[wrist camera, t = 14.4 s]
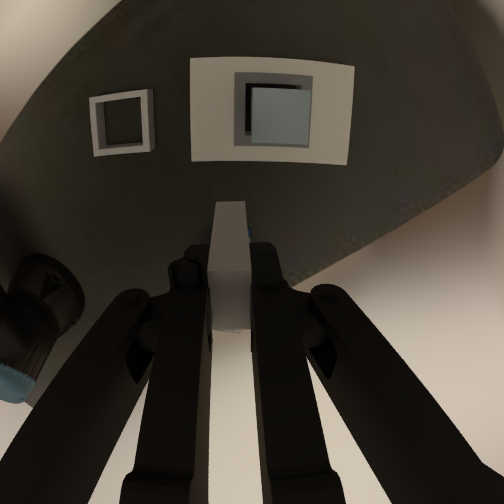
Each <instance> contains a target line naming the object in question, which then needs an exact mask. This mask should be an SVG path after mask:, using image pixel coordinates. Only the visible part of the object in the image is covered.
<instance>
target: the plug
mask: <svg viewBox="0 0 504 504" xmlns="http://www.w3.org/2000/svg"><path fill="white" fill-rule="evenodd" d="M310 99H311V91H308V90H296V89H279V88H252V89H251V117H250V125H251V142H252V143H281V144H303V145H308V133H309V117H310Z"/></svg>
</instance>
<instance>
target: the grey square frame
mask: <svg viewBox="0 0 504 504" xmlns="http://www.w3.org/2000/svg"><path fill="white" fill-rule="evenodd" d="M133 97H141V116H142V135H143V142H139V143H127V144H117V145H107V143H106V132H105V118H104V102H105V101H111V100H118V99H125V98H133ZM89 101H90V117H91V130H92V140H93V150H94V156H103V155H113V154H124V153H136V152H150V151H151V150H153V149H154V148H155V132H154V109H153V89H146V90H137V91H129V92H122V93H115V94H109V95H103V96H97V97H91V98H89Z"/></svg>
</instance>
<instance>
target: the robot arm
mask: <svg viewBox="0 0 504 504" xmlns="http://www.w3.org/2000/svg"><path fill="white" fill-rule="evenodd" d="M168 274H169V280H170V286H171V288H170V291H169V292H167V293H165V294H162V295H159V296H154V297H149V294H148V293H147V292H146V291H145V290H142V289H129V290H125V291H123V292H121V293H120V294H119V295H117V296H116V297H115V299H114V300H113V301H112V302H111V304H110V305H109V306H108V307H107V309H106V310H105V311H104V312H103V314H102V315H101V316H100V317H99V319H98V320H97V321H96V322H95V324H94V325H93V326H92V328H91V329H90V330H89V331H88V333H87V334H86V335H85V337H84V338H83V339H82V341H81V342H80V343H79V345H78V346H77V347H76V349H75V350H74V351H73V353H72V354H71V355H70V357H69V358H68V359H67V361H66V362H65V363H64V365H63V366H62V368H61V369H60V370H59V372H58V373H57V375H56V376H55V377H54V379H53V380H52V382H51V383H50V384H49V386H48V387H47V389H46V390H45V392H44V393H43V395H42V396H41V397H40V399H39V400H38V402H37V403H36V405H35V406H34V408H33V409H32V411H31V412H30V414H29V416H28V417H27V419H26V420H25V422H24V423H23V425H22V426H21V428H20V429H19V431H18V433H17V434H16V436H15V437H14V439H13V441H12V442H11V444H10V445H9V447H8V449H7V450H6V452H5V454H4V456H3V457H2V459H1V461H0V504H88V502H89V500H90V498H91V495H92V493H93V491H94V489H95V487H96V485H97V483H98V480H99V478H100V476H101V474H102V472H103V470H104V468H105V466H106V464H107V461H108V459H109V457H110V455H111V453H112V451H113V449H114V447H115V445H116V443H117V441H118V439H119V437H120V435H121V433H122V431H123V429H124V427H125V425H126V423H127V421H128V419H129V417H130V415H131V413H132V411H133V409H134V407H135V405H136V403H137V401H138V399H139V397H140V395H141V393H142V391H143V389H144V387H145V386H146V384H147V382H148V380H149V383H148V389H147V394H146V398H145V404H144V409H143V414H142V421H141V426H140V432H139V437H138V444H137V451H136V456H135V463H134V467H133V470H132V472H130V473H128V474H127V475H126V477H125V478H124V480H123V483H122V488H121V494H120V501H119V504H209V503H208V465H209V464H208V463H209V418H210V388H211V363H212V342H213V339H212V330H232V329H251V352H252V362H253V374H254V389H255V403H256V416H257V430H258V443H259V457H260V470H261V483H262V495H263V504H346V502H345V497H344V492H343V487H342V484H341V480H340V477H339V475H338V474H337V472H335V471H334V470H333V469H332V468H331V466H330V462H329V458H328V453H327V448H326V444H325V439H324V434H323V429H322V425H321V420H320V416H319V411H318V407H317V402H316V398H315V393H314V389H313V385H312V380H311V376H310V371H309V368H308V363H307V359H308V360H309V362H310V364H311V366H312V367H313V369H314V371H315V372H316V374H317V376H318V378H319V379H320V381H321V383H322V384H323V386H324V388H325V390H326V392H327V393H328V395H329V397H330V398H331V400H332V402H333V404H334V405H335V407H336V409H337V410H338V412H339V414H340V416H341V417H342V419H343V421H344V422H345V424H346V426H347V428H348V429H349V431H350V433H351V435H352V436H353V438H354V440H355V441H356V443H357V445H358V447H359V448H360V450H361V452H362V453H363V455H364V457H365V459H366V460H367V462H368V464H369V465H370V467H371V469H372V471H373V472H374V474H375V476H376V477H377V479H378V481H379V483H380V484H381V486H382V488H383V489H384V491H385V492H386V494H387V496H388V498H389V500H390V501H391V503H392V504H504V477H503V476H502V475H500V474H498V473H497V472H495V471H494V470H493V469H491V468H490V467H488V466H487V465H485V464H484V463H482V462H481V460H480V459H479V457H478V456H477V455H476V453H475V452H474V451H473V449H472V448H471V446H470V445H469V444H468V442H467V441H466V440H465V438H464V437H463V436H462V434H461V433H460V432H459V430H458V429H457V428H456V426H455V425H454V424H453V422H452V421H451V420H450V418H449V417H448V416H447V414H446V413H445V412H444V411H443V409H442V408H441V407H440V405H439V404H438V403H437V402H436V400H435V399H434V398H433V396H432V395H431V394H430V393H429V391H428V390H427V389H426V388H425V386H424V385H423V384H422V382H421V381H420V380H419V379H418V377H417V376H416V375H415V374H414V373H413V371H412V370H411V369H410V368H409V367H408V365H407V364H406V363H405V361H404V360H403V359H402V358H401V356H400V355H399V354H398V353H397V352H396V350H395V349H394V348H393V347H392V346H391V345H390V343H389V342H388V341H387V340H386V338H385V337H384V336H383V335H382V334H381V332H380V331H379V330H378V329H377V328H376V326H375V325H374V324H373V323H372V322H371V321H370V319H369V318H368V317H367V316H366V315H365V314H364V313H363V311H362V310H361V309H360V308H359V307H358V305H357V304H356V303H355V302H354V301H353V300H352V298H351V297H350V296H349V295H348V294H347V293H346V292H345V291H344V290H343V289H342V288H341V287H338V286H336V285H332V284H320V285H317V286H315V287H314V288H313V289H312V290H311V293H306V292H301V291H297V290H294V289H292V288H290V287H289V284H288V283H287V281H286V280H285V279H283V275H282V271H281V267H280V263H279V259H278V256H277V251H276V248H275V247H274V246H273V245H272V244H271V243H270V242H264V243H249V239H248V228H247V218H246V208H245V201H236V202H216V207H215V214H214V221H213V229H212V236H211V244H206V245H190V246H189V247H188V248H187V249H186V250H185V253H184V257H183V258H180V259H178V260H175V261H173V262H172V263H170V265H169V266H168ZM84 306H85V302H84V296H83V292H82V290H81V288H80V286H79V284H78V282H77V281H76V279H75V278H74V276H73V275H72V274H71V273H70V272H69V271H68V270H67V269H66V268H65V267H64V266H63V265H62V264H60V263H59V262H57V261H56V260H54V259H52V258H50V257H47V256H44V255H38V254H35V255H30V256H27V257H26V258H24V259H23V260H22V261H21V262H20V264H19V265H18V266H17V267H16V269H15V270H14V273H13V276H12V280H11V283H10V285H9V288H8V291H7V293H6V292H5V291H4V289H3V287H2V286H1V284H0V399H1V400H3V401H6V402H9V403H14V404H18V403H22V402H24V401H25V400H26V399H27V397H28V396H29V394H30V392H31V391H32V389H33V387H34V386H35V385H36V381H37V378H38V376H39V374H40V372H41V370H42V368H43V366H44V364H45V362H46V360H47V358H48V356H49V354H50V352H51V350H52V348H53V346H54V344H55V342H56V340H57V339H58V338H59V337H60V336H62V335H63V334H64V333H65V332H67V331H68V330H69V329H70V328H72V327H73V326H74V325H75V324H76V323H77V322H78V320H79V319H80V317H81V315H82V313H83V311H84ZM306 357H307V358H306Z"/></svg>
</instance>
